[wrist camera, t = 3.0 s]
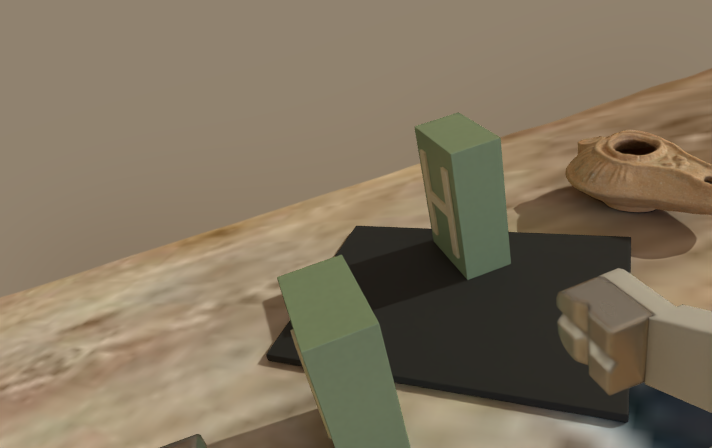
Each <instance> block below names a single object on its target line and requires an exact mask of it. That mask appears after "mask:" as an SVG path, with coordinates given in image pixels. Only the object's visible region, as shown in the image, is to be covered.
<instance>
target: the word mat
mask: <svg viewBox="0 0 712 448" xmlns="http://www.w3.org/2000/svg"><path fill="white" fill-rule="evenodd" d="M508 234H509V246H510V258H511V264H509V265H507V266H504V267H501V268H499V269H496V270H493V271H491V272H488V273H485V274H483V275H480V276H477V277H474V278H472V279H469V280H467V279H466V278H465V276H464V275H463V274H462V273H461V272H460V271H459V270H458V268H457V267H456V266H455V265H454V264H453V263H452V262H451V260H450V259H449V258H448V257H447V256H446V255H445V254H444V252H443V251H442V250H441V249H440V248H439V247H438V245H437V244H436V243H435V242H434V240H433V234H432V229H422V228H398V227H373V226H356V227H355V228H354V230H353V231H352V232H351V234H350V235H349V237H348V238H347V240H346V241H345V242H344V244H343V245H342V247H341V248H340V250H339V251H338V253H337V254H336V255H335V257H336V256H339V255H342V256H343V258H344V260H345V261H346V263H347V265H348V267H349V269H350V271H351V272H352V274H353V276H354V278H355V280H356V282H357V284H358V285H359V287H360V289H361V291H362V293H363V295H364V296H365V298H366V300H367V302H368V304H369V306H370V307H371V309H372V311H373V313H374V315H375V317H376V319H377V320H378V322H379V325H380V329H381V333H382V337H383V341H384V345H385V349H386V353H387V357H388V361H389V365H390V369H391V372H392V376H393V380H394V382H397V383H403V384H408V385H414V386H420V387H426V388H432V389H437V390H443V391H449V392H455V393H461V394H466V395H472V396H478V397H484V398H490V399H495V400H501V401H507V402H513V403H518V404H524V405H530V406H536V407H542V408H547V409H553V410H559V411H565V412H571V413H576V414H582V415H588V416H594V417H600V418H605V419H611V420H617V421H623V422H628V418H629V388H628V389H625V390H623V391H620V392H618V393H615V394H613V395H610V396H609V395H608V394H607V393H606V392H605V391H604V390H603V389H602V388H601V387H600V386H599V385H598V383H597V382H596V381H595V380H594V379H593V378H592V377H591V376H590V375H589V365H586V364H583V363H580V362H577V361H575V360H574V359H573V358H572V357H571V355H570V354H569V353H568V352H567V350H566V349H565V347H564V346H563V344H562V341H561V339H560V336H559V334H558V324H557V322H558V320H559V318H560V316H561V314H562V313H563V312H562V311H561V310H560V309H558V308H557V304H556V297H557V295H558V292H560V291H563V290H565V289H568V288H570V287H573V286H575V285H578V284H580V283H583V282H585V281H588V280H590V279H593V278H595V277H598V276H600V275H602V274H605V273H607V272H610V271H612V270H615V269H617V268H620V269H624V270H626V271H627V272H628V273H631V237H616V236H592V235H568V234H543V233H519V232H508ZM292 329H293V327H292V324H291V320H290V321H289V323H288V324H287V325H286V327H285V328H284V330H283V331H282V333H281V334H280V335H279V337H278V338H277V340H276V341H275V343H274V344H273V345H272V347H271V348H270V350H269V351H268V353H267V354H266V355H267V358H268V360H270V361H275V362H281V363H287V364H293V365H298V366H302V363H301V360H300V358H299V355H298V352H297V350H296V347H295V344H294V341H293V338H292V334H291V331H290V330H292Z"/></svg>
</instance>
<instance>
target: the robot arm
mask: <svg viewBox="0 0 712 448" xmlns="http://www.w3.org/2000/svg"><path fill="white" fill-rule="evenodd" d="M556 304H557V308H558V309H560V310H561V311H562V312H563V313H562V314H561V316H560V318H559V320H558V322H557V324H558V334H559V336H560V339H561V341H562V344H563V346H564V347H565V349H566V350H567V352H568V353H569V354H570V355H571V357H572V358H573V359H574V360H575V361H577V362H580V363H583V364H586V365H589V375H590V376H591V377H592V378H593V379H594V380H595V381H596V382H597V383H598V385H599V386H600V387H601V388H602V389H603V390H604V391H605V392H606V393H607V394H608V395H609V396H610V395H613V394H615V393H618V392H620V391H623V390H625V389H628V388H630V387H633V386H636V385H638V384H641V383H643V382H645V384H646V385H649V386H651V387H653V388H656V389H658V390H660V391H662V392H665V393H667V394H669V395H672V396H674V397H676V398H679V399H681V400H683V401H686V402H688V403H690V404H693V405H695V406H697V407H700V408H702V409H704V410H707V411H709V412H711V413H712V311H709V310H704V309H700V308H696V307H691V306H687V305H680V306H677V307H676V306H675V305H673V304H672V303H671V302H669V301H668V300H666V299H665V298H663V297H662V296H661V295H659V294H658V293H656V292H655V291H654V290H652V289H651V288H649V287H648V286H647V285H645V284H644V283H642V282H641V281H640V280H638V279H637V278H635V277H634V276H633V275H631V274H630V273H628V272H627V271H626V270H624V269H620V268H617V269H615V270H612V271H610V272H607V273H605V274H602V275H600V276H598V277H595V278H593V279H590V280H588V281H585V282H583V283H580V284H578V285H575V286H573V287H570V288H568V289H565V290H563V291H560V292H558V295H557V297H556ZM160 448H207V445H206V443H205V442H204V440H203V438H202V437H201V435H199V434H196V435H193V436H190V437H188V438H185V439H182V440H179V441H177V442H174V443H171V444H168V445H166V446H163V447H160ZM710 448H712V447H710Z"/></svg>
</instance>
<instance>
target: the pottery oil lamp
mask: <svg viewBox="0 0 712 448" xmlns="http://www.w3.org/2000/svg"><path fill="white" fill-rule="evenodd" d="M566 177H567V179H568V181H569V182H570V183H571V184H572V186H573V187H575V188H576V189H578V190H580V191H582V192H584V193H585V194H587V195H589V196H591V197H593V198H596V199H598V200H601V201H603V202H604V203H605V204H606V205H608V206H609V207H611V208H614V209H617V210H623V211H629V212H648V211H652V210H655V209H659V210H667V211H679V212H686V213H692V214H707V215H711V214H712V165H711V164H709V163H707V162H704V161H702V160H700V159H698V158H696V157H694V156H692V155H690V154H688V153H686V152H685V151H683V150H682V149H681V148H680V147H678V146H677V145H676V144H674V143H672V142H670V141H667V140H665V139H663V138H661V137H658V136H656V135H653V134H650V133H646V132H642V131H637V130H624V131H621V132H619V133H614V134H613V135H611V136H608V137H606V138H604V137H601V136H599V137H594V138H587V139H583V140H581V141H579V142H578V155H577V157H575V159H573V160H572V161H571V163H570V164H569V165H568V167H567V168H566Z"/></svg>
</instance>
